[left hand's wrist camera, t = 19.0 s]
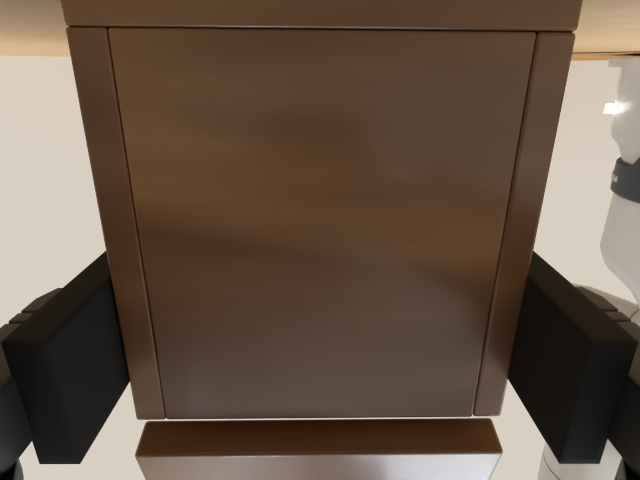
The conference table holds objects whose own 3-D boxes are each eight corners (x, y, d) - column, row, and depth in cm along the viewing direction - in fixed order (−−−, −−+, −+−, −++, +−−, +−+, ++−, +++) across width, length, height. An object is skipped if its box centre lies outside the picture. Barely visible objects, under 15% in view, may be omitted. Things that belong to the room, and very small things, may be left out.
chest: (399, 45, 23) (387, 212, 27) (230, 43, 23) (240, 212, 26) (587, -15, 7) (501, 417, 11) (55, -22, 7) (136, 420, 11)
